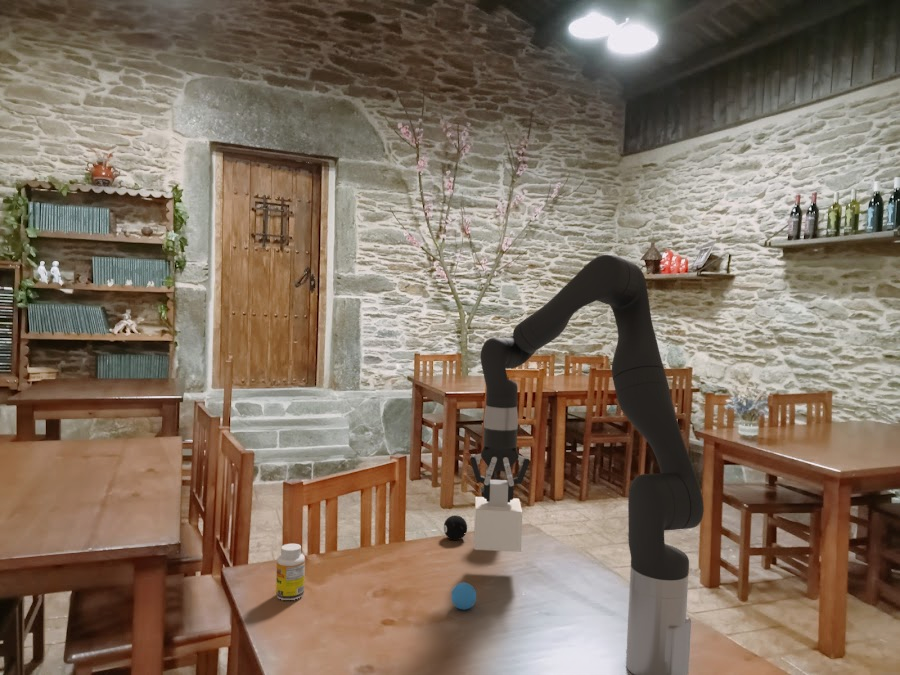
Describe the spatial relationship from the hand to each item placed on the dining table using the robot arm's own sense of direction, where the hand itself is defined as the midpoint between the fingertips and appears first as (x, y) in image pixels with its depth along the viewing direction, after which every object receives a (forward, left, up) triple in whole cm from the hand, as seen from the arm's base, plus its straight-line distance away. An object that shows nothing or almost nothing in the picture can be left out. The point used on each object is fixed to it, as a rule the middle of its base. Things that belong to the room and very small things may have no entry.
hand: (498, 500), depth 144 cm
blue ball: (-8, +18, -14) cm, 24 cm away
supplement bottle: (+18, +42, -17) cm, 49 cm away
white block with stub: (0, 0, -10) cm, 10 cm away
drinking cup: (+14, -14, -17) cm, 26 cm away
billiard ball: (+21, -7, -17) cm, 28 cm away
